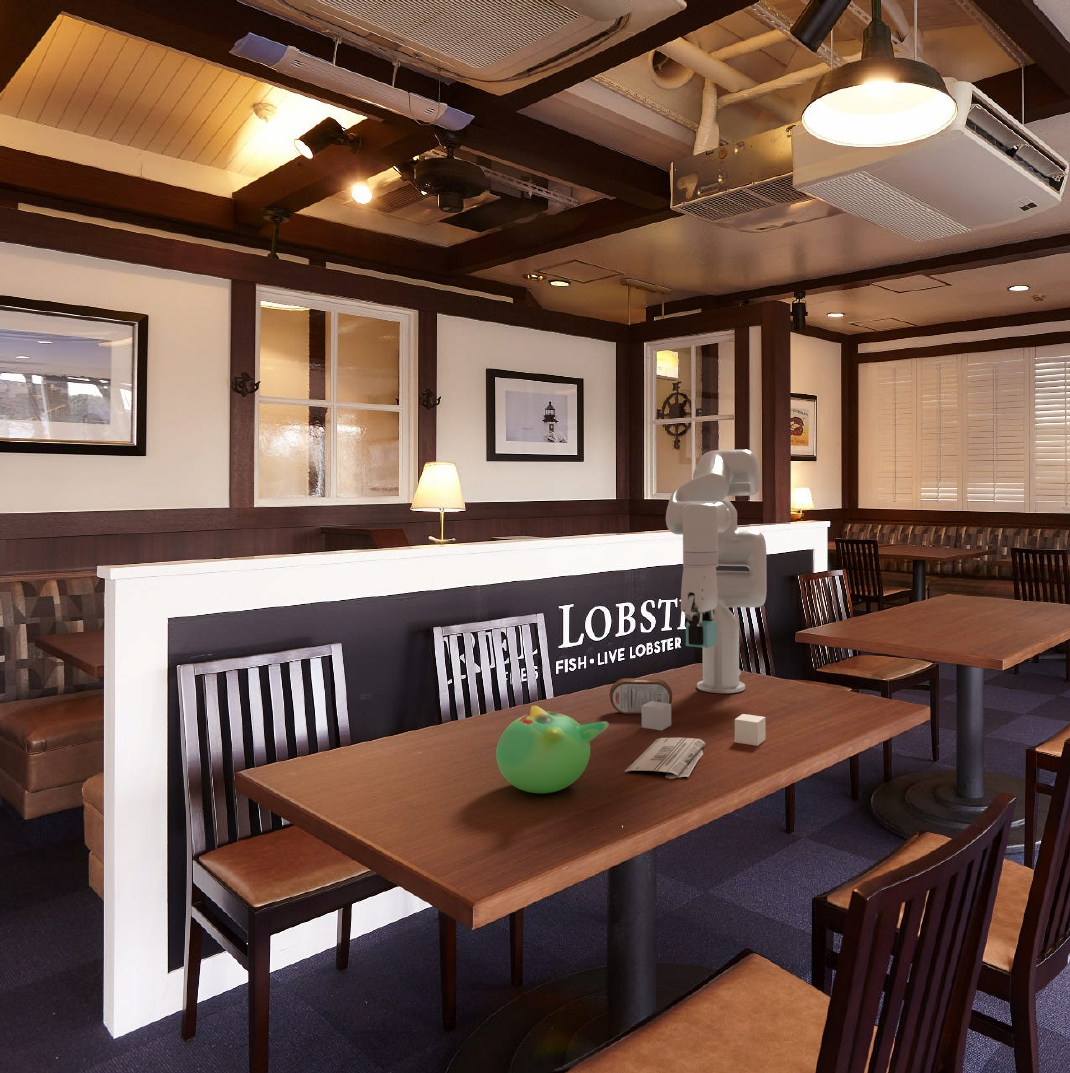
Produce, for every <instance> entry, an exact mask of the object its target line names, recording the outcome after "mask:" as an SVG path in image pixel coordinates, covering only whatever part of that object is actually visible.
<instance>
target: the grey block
mask: <svg viewBox="0 0 1070 1073" xmlns="http://www.w3.org/2000/svg"><path fill="white" fill-rule="evenodd" d="M641 709H642V714H641V728H643V729H648V730H649V729H650V730H656V731H664V730H665V729H667V728H669V727H671V726H672V703H671V704H669V703H661V702H654V701H651V702H649V703H646V704H644V705H642V706H641Z"/></svg>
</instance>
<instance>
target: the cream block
mask: <svg viewBox="0 0 1070 1073" xmlns="http://www.w3.org/2000/svg"><path fill="white" fill-rule="evenodd" d="M766 730H767V729H766V716H761V715H752V714H745V713H742V714H740V715H739V716H737V717H736V718H735V719H734V743H738V744H745V745H752V746H757V747H758V746H759V745H760V744H762V743H763V742H764V741H766V734H767V732H766Z"/></svg>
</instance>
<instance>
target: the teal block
mask: <svg viewBox="0 0 1070 1073" xmlns="http://www.w3.org/2000/svg"><path fill="white" fill-rule="evenodd" d="M701 627H703V645H691V644H689V641H688V622H685V646H686V647H692V648H694V647H695V648H702V649H703V648H709V647H711V646H713V645H716V622H715V621H702V624H701Z"/></svg>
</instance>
